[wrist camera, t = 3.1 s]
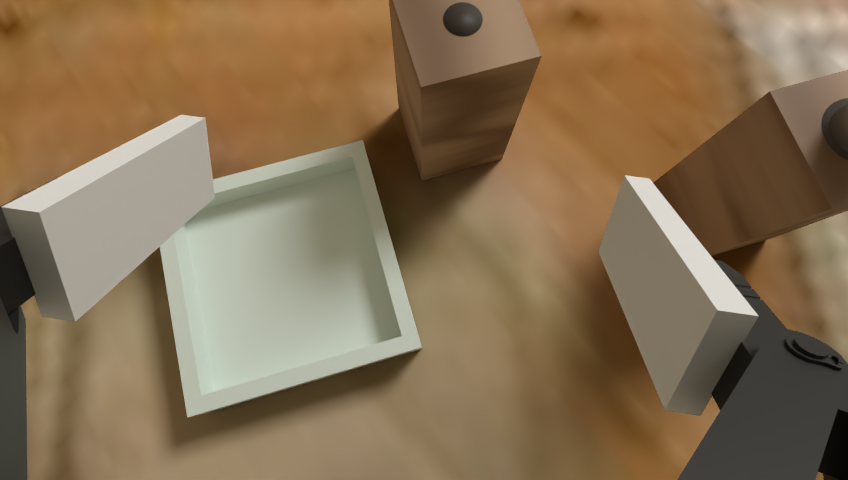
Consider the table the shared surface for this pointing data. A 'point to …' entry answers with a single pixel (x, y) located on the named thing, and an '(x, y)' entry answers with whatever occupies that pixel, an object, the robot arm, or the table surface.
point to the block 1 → (460, 78)
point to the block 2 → (767, 168)
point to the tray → (285, 281)
